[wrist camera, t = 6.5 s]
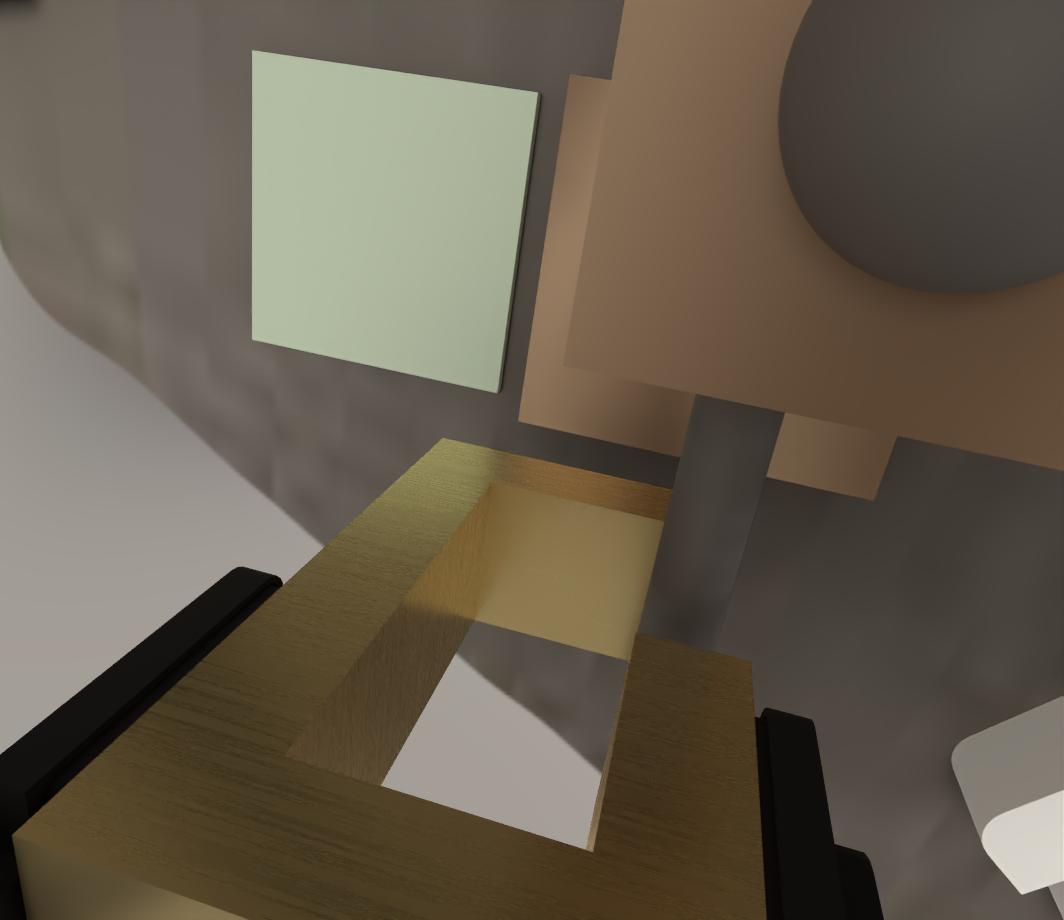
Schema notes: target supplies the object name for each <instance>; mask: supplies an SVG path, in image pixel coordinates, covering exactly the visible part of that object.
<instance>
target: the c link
mask: <svg viewBox="0 0 1064 920" xmlns="http://www.w3.org/2000/svg"><path fill="white" fill-rule="evenodd" d="M671 493H672V489H667V488H663V487H659V486H654V485H650V484H645V483H641V482H636V481H632V480H628V479H623V478H619V477H614V476H610V475H605V474H601V473H596V472H592V471H588V470H583V469H579V468H574V467H570V466H565V465H561V464H556V463H552V462H548V461H543V460H539V459H534V458H530V457H525V456H521V455H516V454H512V453H508V452H503V451H499V450H494V449H490V448H485V447H481V446H477V445H472V444H468V443H463V442H459V441H454V440H450V439H445V438H442V439H441V440H440V441H439V442H438V443H437V444H436V445H435V446H434V447H433V448H432V449H431V450H429V451H428V452H427V453H426V454H425V455H424V456H423V457H422V458H421V459H420V460H419V461H417V462H416V463H415V464H414V465H413V466H412V467H411V468H410V469H409V470H408V471H407V472H406V473H404V474H403V475H402V476H401V477H400V478H399V479H398V480H397V481H396V482H395V483H394V484H393V485H391V486H390V487H389V488H388V489H387V490H386V491H385V492H384V493H383V494H382V495H381V496H380V497H378V498H377V499H376V500H375V501H374V502H373V503H372V504H371V505H370V506H369V507H368V508H367V509H365V510H364V511H363V512H362V513H361V514H360V515H359V516H358V517H357V518H356V519H355V520H353V521H352V522H351V523H350V524H349V525H348V526H347V527H346V528H345V529H344V530H343V531H342V532H340V533H339V534H338V535H337V536H336V537H335V538H334V539H333V540H332V541H331V542H330V543H329V544H327V545H326V546H325V547H324V548H323V549H322V550H321V551H320V552H319V553H318V554H317V555H316V556H314V557H313V558H312V559H311V560H310V561H309V562H308V563H307V564H306V565H305V566H304V567H302V568H301V569H300V570H299V571H298V572H297V573H296V574H295V575H294V576H293V577H292V578H291V579H289V580H288V581H287V582H286V583H285V584H284V585H283V586H282V587H281V588H280V589H279V590H278V591H276V592H275V593H274V594H273V595H272V596H271V597H270V598H269V599H268V600H267V601H266V602H265V603H263V604H262V605H261V606H260V607H259V608H258V609H257V610H256V611H255V612H254V613H253V614H252V615H250V616H249V617H248V618H247V619H246V620H245V621H244V622H243V623H242V624H241V625H240V626H238V627H237V628H236V629H235V630H234V631H233V632H232V633H231V634H230V635H229V636H228V637H227V638H225V639H224V640H223V641H222V642H221V643H220V644H219V645H218V646H217V647H216V648H215V649H214V650H212V651H211V652H210V653H209V654H208V655H207V656H206V657H205V658H204V659H203V660H202V661H201V662H199V663H198V664H197V665H196V666H195V667H194V668H193V669H192V670H191V671H190V672H189V673H187V674H186V675H185V676H184V677H183V678H182V679H181V680H180V681H179V682H178V683H177V684H176V685H174V686H173V687H172V688H171V689H170V690H169V691H168V692H167V693H166V694H165V695H164V696H163V697H161V698H160V699H159V700H158V701H157V702H156V703H155V704H154V705H153V706H152V707H151V708H150V709H148V710H147V711H146V712H145V713H144V714H143V715H142V716H141V717H140V718H139V719H138V720H137V721H135V722H134V723H133V724H132V725H131V726H130V727H129V728H128V729H127V730H126V731H125V732H123V733H122V734H121V735H120V736H119V737H118V738H117V739H116V740H115V741H114V742H113V743H112V744H110V745H109V746H108V747H107V748H106V749H105V750H104V751H103V752H102V753H101V754H100V755H99V756H97V757H96V758H95V759H94V760H93V761H92V762H91V763H90V764H89V765H88V766H87V767H86V768H84V769H83V770H82V771H81V772H80V773H79V774H78V775H77V776H76V777H75V778H74V779H72V780H71V781H70V782H69V783H68V784H67V785H66V786H65V787H64V788H63V789H62V790H61V791H59V792H58V793H57V794H56V795H55V796H54V797H53V798H52V799H51V800H50V801H49V802H48V803H46V804H45V805H44V806H43V807H42V808H41V809H40V810H39V811H38V812H37V813H36V814H35V815H33V816H32V817H31V818H30V819H29V820H28V821H27V822H26V823H25V824H24V825H23V826H21V827H20V828H19V829H18V830H17V831H16V832H15V833H14V834H13V835H12V839H13V844H14V850H15V855H16V861H17V867H18V872H19V878H20V884H21V889H22V895H23V901H24V906H25V912H26V918H27V920H767V918H766V901H765V884H764V867H763V850H762V834H761V817H760V800H759V783H758V766H757V749H756V732H755V715H754V698H753V681H752V665H751V661H747V660H743V659H739V658H735V657H731V656H727V655H724V654H720V653H716V652H712V651H708V650H704V649H700V648H697V647H693V646H689V645H685V644H681V643H677V642H673V641H670V640H666V639H662V638H658V637H654V636H650V635H646V634H643V633H639V632H638V628H639V624H640V620H641V616H642V612H643V608H644V603H645V599H646V595H647V591H648V587H649V583H650V579H651V575H652V571H653V567H654V563H655V558H656V554H657V550H658V546H659V542H660V538H661V534H662V530H663V526H664V522H665V518H666V514H667V509H668V505H669V501H670V497H671ZM474 620H477V621H480V622H484V623H488V624H492V625H495V626H499V627H503V628H507V629H510V630H514V631H518V632H522V633H525V634H529V635H533V636H537V637H540V638H544V639H548V640H552V641H555V642H559V643H563V644H567V645H570V646H574V647H578V648H582V649H585V650H589V651H593V652H597V653H600V654H604V655H608V656H612V657H615V658H619V659H623V660H627V661H629V662H628V666H627V670H626V675H625V679H624V683H623V687H622V692H621V696H620V700H619V704H618V709H617V713H616V717H615V721H614V726H613V730H612V734H611V738H610V743H609V747H608V751H607V755H606V760H605V764H604V768H603V772H602V777H601V781H600V785H599V790H598V794H597V798H596V803H595V807H594V812H593V818H592V822H591V827H590V832H589V837H588V842H587V847H586V850H584V849H581V848H578V847H575V846H572V845H568V844H565V843H562V842H559V841H556V840H552V839H549V838H546V837H543V836H539V835H536V834H533V833H530V832H527V831H524V830H520V829H517V828H514V827H511V826H508V825H504V824H501V823H498V822H495V821H492V820H488V819H485V818H482V817H479V816H475V815H472V814H469V813H466V812H463V811H460V810H456V809H453V808H450V807H447V806H443V805H440V804H437V803H434V802H431V801H427V800H424V799H421V798H418V797H415V796H412V795H408V794H405V793H402V792H398V791H395V790H392V789H389V788H386V787H383V786H381V784H382V782H383V781H384V779H385V777H386V775H387V774H388V771H389V770H390V768H391V767H392V765H393V763H394V761H395V759H396V758H397V756H398V754H399V752H400V751H401V749H402V747H403V745H404V743H405V741H406V740H407V738H408V736H409V735H410V733H411V731H412V729H413V727H414V726H415V724H416V722H417V720H418V719H419V717H420V715H421V713H422V712H423V710H424V708H425V706H426V704H427V703H428V701H429V699H430V698H431V696H432V694H433V692H434V690H435V688H436V687H437V685H438V683H439V682H440V680H441V678H442V676H443V674H444V673H445V671H446V669H447V667H448V666H449V664H450V662H451V660H452V659H453V657H454V655H455V653H456V651H457V650H458V648H459V646H460V644H461V643H462V641H463V639H464V637H465V636H466V634H467V632H468V630H469V628H470V627H471V625H472V623H473V621H474Z"/></svg>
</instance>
